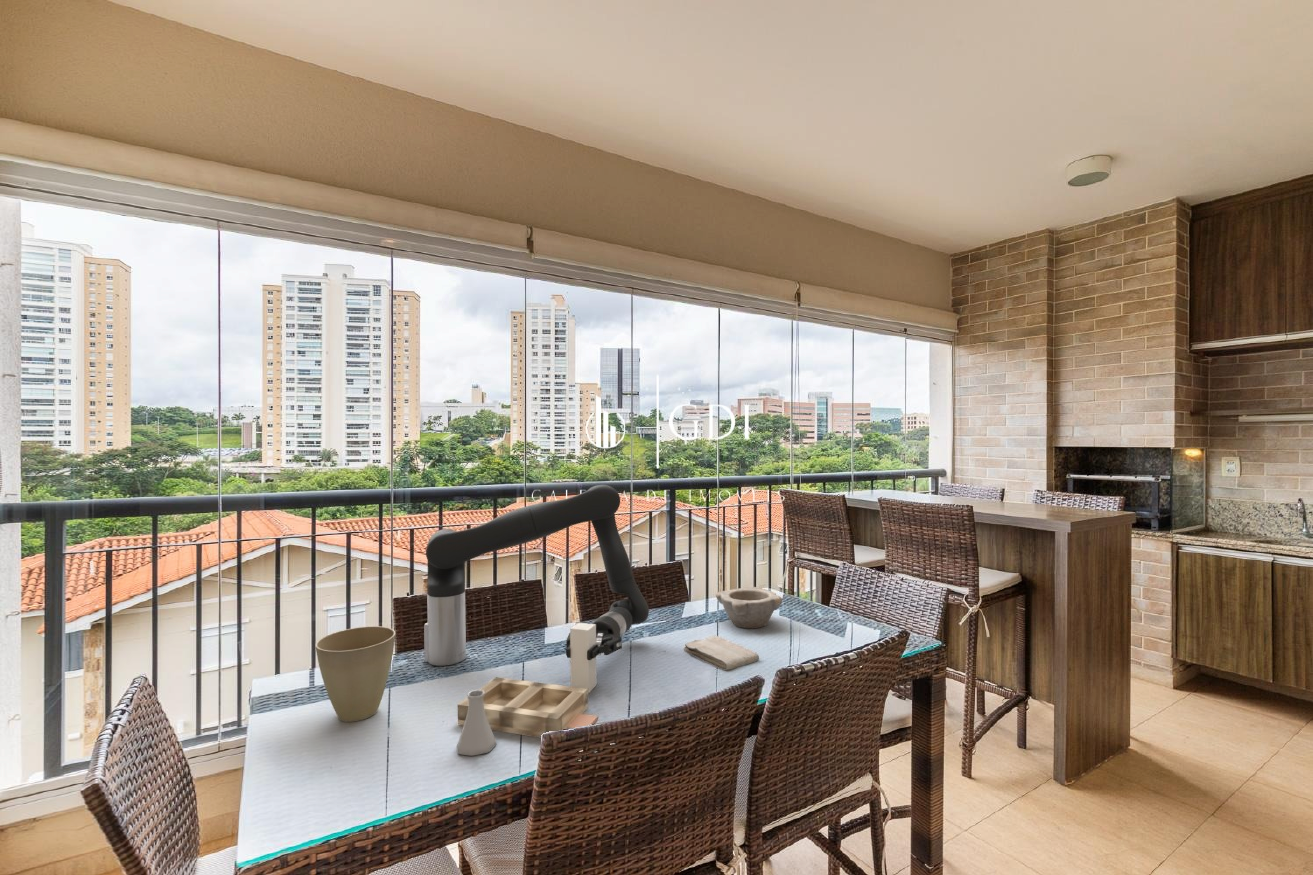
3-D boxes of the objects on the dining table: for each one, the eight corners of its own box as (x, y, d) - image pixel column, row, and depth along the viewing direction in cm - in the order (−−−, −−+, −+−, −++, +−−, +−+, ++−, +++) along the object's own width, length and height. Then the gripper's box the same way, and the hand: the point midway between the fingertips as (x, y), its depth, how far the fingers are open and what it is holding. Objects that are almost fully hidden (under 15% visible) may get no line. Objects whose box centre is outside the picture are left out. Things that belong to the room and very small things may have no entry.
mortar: (712, 618, 188) (712, 589, 187) (762, 613, 192) (761, 584, 192) (734, 635, 171) (733, 603, 171) (787, 629, 176) (787, 598, 176)
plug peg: (570, 690, 136) (570, 628, 135) (578, 682, 140) (578, 622, 140) (588, 692, 134) (588, 630, 134) (596, 684, 138) (595, 624, 138)
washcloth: (714, 642, 167) (713, 631, 167) (761, 662, 152) (761, 650, 152) (680, 652, 160) (680, 640, 160) (727, 673, 145) (726, 661, 145)
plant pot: (341, 697, 133) (341, 625, 133) (408, 698, 132) (407, 626, 132) (299, 731, 118) (298, 650, 118) (374, 732, 117) (373, 650, 117)
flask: (461, 737, 115) (460, 685, 115) (499, 735, 116) (499, 684, 115) (451, 758, 108) (451, 702, 108) (492, 756, 108) (492, 700, 108)
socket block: (457, 724, 120) (457, 704, 120) (496, 695, 134) (496, 677, 133) (576, 743, 112) (576, 721, 112) (605, 710, 126) (605, 691, 126)
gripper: (580, 613, 153) (549, 635, 136) (633, 617, 148) (607, 640, 132) (581, 642, 153) (549, 668, 136) (634, 648, 149) (608, 674, 132)
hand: (578, 654), depth 134 cm, fingers closed on plug peg, 4 cm apart
